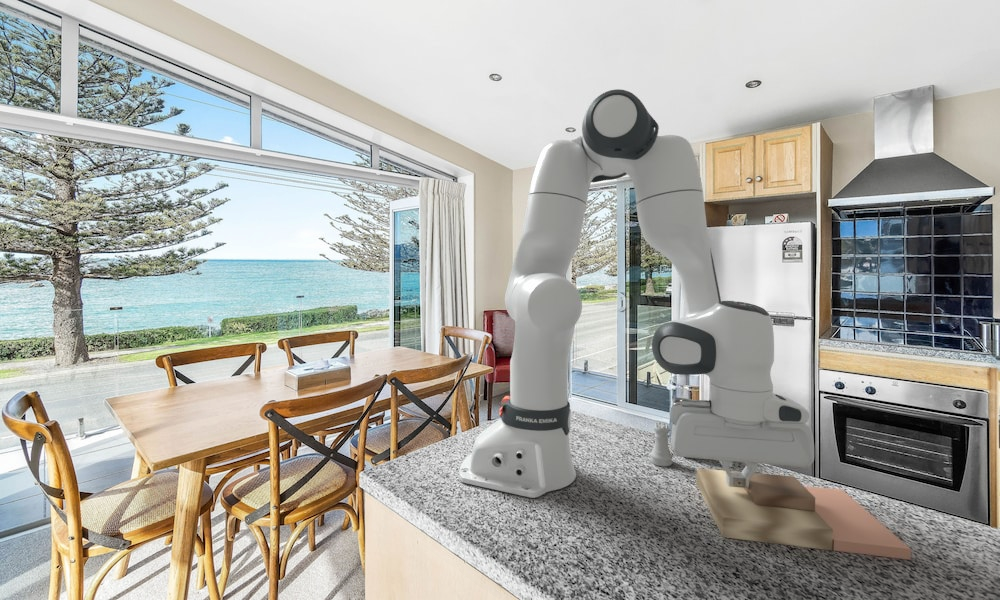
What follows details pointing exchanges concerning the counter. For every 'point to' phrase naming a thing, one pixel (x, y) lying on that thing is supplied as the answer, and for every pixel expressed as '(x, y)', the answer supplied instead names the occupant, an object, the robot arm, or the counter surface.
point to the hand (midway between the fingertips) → (737, 485)
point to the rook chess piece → (661, 446)
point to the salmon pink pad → (855, 526)
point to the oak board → (760, 516)
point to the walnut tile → (779, 492)
